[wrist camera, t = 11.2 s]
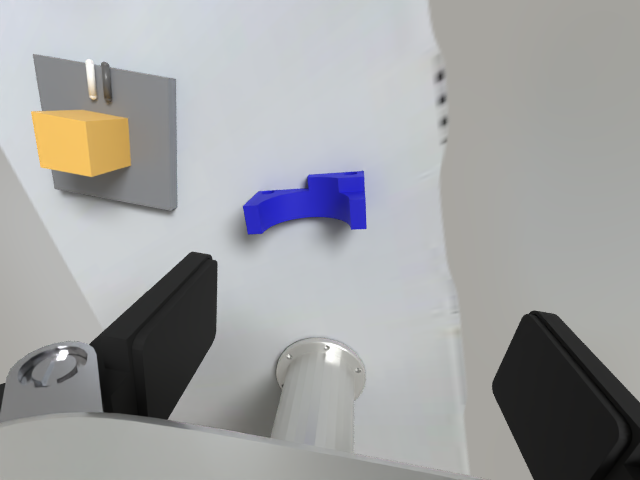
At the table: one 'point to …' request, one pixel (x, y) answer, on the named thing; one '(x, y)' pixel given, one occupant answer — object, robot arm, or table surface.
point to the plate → (143, 119)
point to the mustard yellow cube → (81, 141)
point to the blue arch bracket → (310, 202)
